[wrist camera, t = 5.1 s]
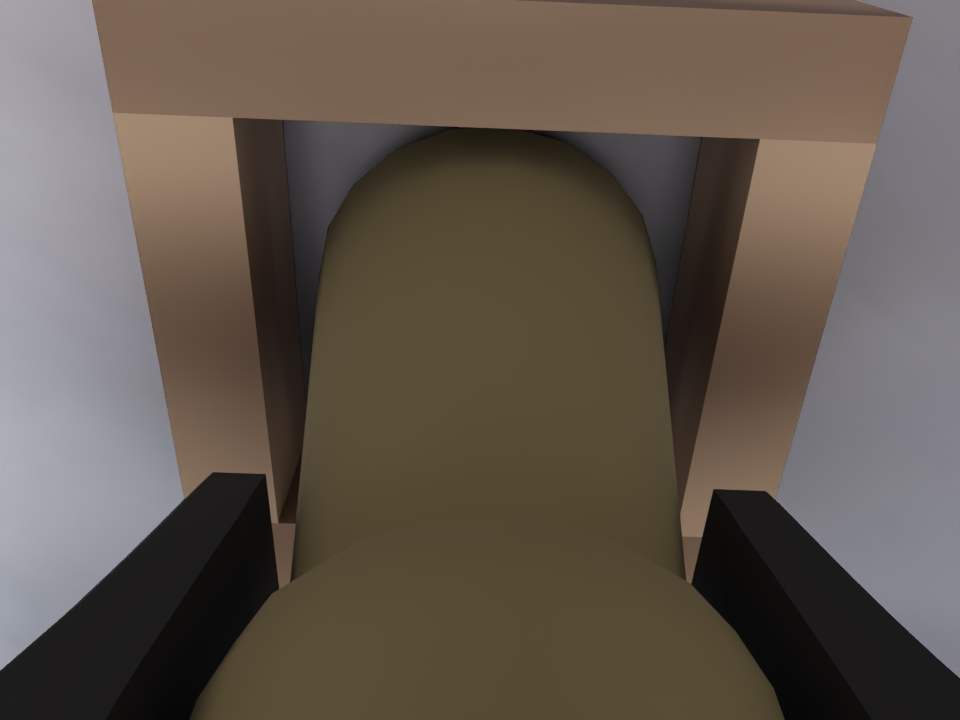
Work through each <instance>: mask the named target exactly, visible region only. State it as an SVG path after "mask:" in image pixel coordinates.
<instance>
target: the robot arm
mask: <svg viewBox="0 0 960 720" xmlns="http://www.w3.org/2000/svg"><path fill="white" fill-rule="evenodd" d="M691 585H692V586H693V587H694V588H695V589H696V590H697V591H698V592H699V593H700V594H701V595H702V596H703V597H704V599H705V600H706V601H707V602H708V603H709V604H710V605H711V606H712V607H713V608H714V609H715V610H716V611H717V612H718V613H719V614H720V615H721V616H722V617H723V619H724V620H725V621H726V622H727V623H728V624H729V625H730V626H731V627H732V628H733V629H734V630H735V631H736V632H737V634H738V635H739V637H740V638H741V640H742V642H743V643H744V645H745V646H746V648H747V649H748V651H749V652H750V654H751V655H752V657H753V658H754V660H755V661H756V663H757V664H758V666H759V667H760V669H761V670H762V672H763V673H764V675H765V676H766V678H767V679H768V681H769V682H770V684H771V685H772V687H773V688H774V691H775V694H776V696H777V699H778V702H779V705H780V708H781V711H782V713H783V716H784V719H785V720H960V678H959V677H958V676H956V675H955V674H954V673H953V672H952V671H951V670H950V669H948V668H947V667H946V666H945V665H944V664H943V663H942V662H941V661H940V660H939V659H937V658H936V657H935V656H934V655H933V654H932V653H931V652H930V651H929V650H928V649H927V648H925V647H924V646H923V645H922V644H921V643H920V642H919V641H918V640H917V639H916V638H915V637H914V636H912V635H911V634H910V633H909V632H908V631H907V630H906V629H905V628H904V627H903V626H902V625H901V624H900V623H899V622H898V621H897V620H896V619H894V618H893V617H892V616H891V615H890V614H889V613H888V612H887V611H886V610H885V609H884V608H883V607H882V606H881V605H880V604H879V603H878V602H877V601H876V600H875V599H874V598H873V597H872V596H871V595H870V594H869V593H868V592H867V591H866V590H865V589H864V588H863V587H862V586H861V585H860V584H858V583H857V582H856V581H855V580H854V579H853V578H852V577H851V576H850V575H849V574H848V573H847V572H846V571H845V570H844V569H843V568H842V567H841V566H840V565H839V564H838V563H837V562H836V561H835V560H834V559H833V558H832V557H831V556H830V555H829V554H828V553H827V551H826V550H825V549H824V548H823V547H822V546H821V545H820V544H819V543H818V542H817V541H816V540H815V539H814V538H813V537H812V536H811V535H810V534H809V533H808V532H807V531H806V530H805V529H804V528H803V527H802V526H801V525H800V524H799V523H798V522H797V521H796V520H795V519H794V518H793V517H792V516H791V515H790V514H789V513H788V512H787V511H786V510H785V509H784V508H783V507H782V506H781V505H780V504H779V503H778V502H777V501H776V500H775V499H774V498H773V497H772V496H771V495H770V494H769V493H768V492H766V491H755V490H725V489H713V493H712V497H711V502H710V506H709V510H708V514H707V519H706V523H705V527H704V531H703V536H702V540H701V544H700V548H699V553H698V557H697V561H696V565H695V570H694V574H693V578H692V583H691ZM277 590H279V581H278V573H277V565H276V556H275V548H274V539H273V531H272V522H271V514H270V505H269V497H268V489H267V480H266V474H252V473H222V472H213V473H211V474H210V475H209V476H208V477H207V478H206V479H205V480H204V481H203V482H201V483H200V484H199V485H198V486H197V487H196V488H195V489H194V490H193V491H192V492H191V493H190V494H189V495H188V496H187V497H186V498H185V499H184V500H183V501H182V502H181V503H180V504H179V505H178V506H177V507H176V508H175V509H174V510H173V511H172V512H171V513H170V514H169V515H168V516H167V517H166V518H165V519H164V520H163V521H162V522H161V523H160V524H159V525H158V526H157V527H156V528H155V529H154V530H153V531H152V532H151V533H150V534H149V535H148V536H147V537H146V538H145V539H144V540H143V541H142V542H141V543H140V544H139V545H138V546H137V547H136V548H135V549H134V550H133V551H132V552H131V553H130V554H129V555H128V556H127V557H126V558H125V559H124V560H123V561H121V562H120V563H119V564H118V565H117V566H116V567H115V568H114V569H113V570H112V571H111V572H110V573H109V574H108V575H107V576H106V577H105V578H103V579H102V580H101V581H100V582H99V583H98V584H97V585H96V586H95V587H94V588H93V589H92V590H91V591H90V592H89V593H88V594H87V595H85V596H84V597H83V598H82V599H81V600H80V601H79V602H78V603H77V604H76V605H75V606H74V607H73V608H72V609H70V610H69V611H68V612H67V613H66V614H65V615H64V616H63V617H62V618H61V619H59V620H58V621H57V622H56V623H55V624H54V625H52V626H51V627H50V628H49V629H48V630H47V631H46V632H44V633H43V634H42V635H41V636H40V637H39V638H37V639H36V640H35V641H34V642H33V643H32V644H31V645H29V646H28V647H27V648H26V649H25V650H24V651H22V652H21V653H20V654H19V655H18V656H17V657H16V658H14V659H13V660H12V661H11V662H10V663H9V664H7V665H6V666H5V667H4V668H3V669H2V670H1V671H0V720H190V717H191V714H192V711H193V708H194V705H195V703H196V700H197V699H198V697H199V695H200V694H201V692H202V691H203V689H204V688H205V686H206V685H207V683H208V682H209V680H210V679H211V677H212V676H213V674H214V673H215V671H216V670H217V668H218V667H219V665H220V663H221V662H222V660H223V659H224V657H225V656H226V654H227V653H228V651H229V650H230V648H231V647H232V645H233V644H234V642H235V641H236V640H237V638H238V637H239V636H240V634H241V633H242V632H243V631H244V629H245V628H246V627H247V625H248V624H249V623H250V621H251V620H252V619H253V618H254V616H255V615H256V614H257V612H258V611H259V610H260V608H261V607H262V606H263V605H264V603H265V602H266V601H267V599H268V598H269V597H270V595H271V594H272V593H274V592H276V591H277Z"/></svg>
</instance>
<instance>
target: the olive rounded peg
mask: <svg viewBox="0 0 960 720" xmlns="http://www.w3.org/2000/svg"><path fill="white" fill-rule="evenodd" d="M190 720H785V719H784V716H783V713H782V711H781V708H780V705H779V702H778V699H777V696H776V694H775V691H774V688H773V687H772V685H771V684H770V682H769V681H768V679H767V678H766V676H765V675H764V673H763V672H762V670H761V669H760V667H759V666H758V664H757V663H756V661H755V660H754V658H753V657H752V655H751V654H750V652H749V651H748V649H747V648H746V646H745V645H744V643H743V642H742V640H741V638H740V637H739V635H738V634H737V632H736V631H735V630H734V629H733V628H732V627H731V626H730V625H729V624H728V623H727V622H726V621H725V620H724V619H723V617H722V616H721V615H720V614H719V613H718V612H717V611H716V610H715V609H714V608H713V607H712V606H711V605H710V604H709V603H708V602H707V601H706V600H705V599H704V597H703V596H702V595H701V594H700V593H699V592H698V591H697V590H696V589H695V588H694V587H693V586H692V585H691V584H690V583H688V582H687V581H686V572H685V561H684V551H683V540H682V530H681V520H680V509H679V499H678V488H677V478H676V468H675V457H674V447H673V436H672V426H671V416H670V405H669V395H668V384H667V374H666V364H665V353H664V343H663V332H662V322H661V311H660V301H659V291H658V280H657V270H656V262H655V258H654V254H653V251H652V247H651V244H650V240H649V237H648V233H647V230H646V226H645V223H644V219H643V216H642V214H641V213H640V211H639V210H638V209H637V207H636V206H635V205H634V203H633V202H632V201H631V199H630V198H629V196H628V195H627V194H626V192H625V191H624V190H623V188H622V187H621V186H620V184H619V183H618V181H617V180H616V179H615V177H614V176H613V175H612V173H610V172H609V171H607V170H606V169H604V168H603V167H601V166H600V165H598V164H597V163H595V162H594V161H592V160H591V159H589V158H588V157H587V156H585V155H584V154H582V153H581V152H579V151H578V150H576V149H575V148H573V147H572V146H570V145H569V144H567V143H566V142H563V141H559V140H555V139H552V138H548V137H545V136H541V135H537V134H534V133H530V132H527V131H523V130H520V129H500V128H468V129H450V130H447V131H445V132H442V133H439V134H437V135H434V136H431V137H429V138H426V139H423V140H420V141H418V142H415V143H412V144H410V145H407V146H404V147H402V148H399V149H397V150H395V151H394V152H393V153H392V154H390V155H389V156H388V157H387V158H386V159H384V160H383V161H382V162H381V163H379V164H378V165H377V166H376V167H374V168H373V169H372V170H371V171H370V172H368V173H367V174H366V175H365V176H363V177H362V178H361V179H360V180H359V181H357V182H356V183H355V184H354V185H353V187H352V189H351V190H350V192H349V194H348V195H347V197H346V199H345V200H344V202H343V204H342V205H341V207H340V209H339V210H338V212H337V214H336V215H335V217H334V219H333V220H332V222H331V224H330V225H329V227H328V231H327V236H326V241H325V247H324V252H323V257H322V263H321V268H320V273H319V283H318V293H317V304H316V314H315V325H314V335H313V346H312V357H311V367H310V378H309V388H308V399H307V409H306V420H305V430H304V441H303V451H302V462H301V473H300V483H299V494H298V504H297V515H296V525H295V536H294V546H293V557H292V567H291V578H290V583H288V584H287V585H285V586H284V587H282V588H280V589H279V590H277V591H276V592H274V593H272V594H271V595H270V597H269V598H268V599H267V601H266V602H265V603H264V605H263V606H262V607H261V608H260V610H259V611H258V612H257V614H256V615H255V616H254V618H253V619H252V620H251V621H250V623H249V624H248V625H247V627H246V628H245V629H244V631H243V632H242V633H241V634H240V636H239V637H238V638H237V640H236V641H235V642H234V644H233V645H232V647H231V648H230V650H229V651H228V653H227V654H226V656H225V657H224V659H223V660H222V662H221V663H220V665H219V667H218V668H217V670H216V671H215V673H214V674H213V676H212V677H211V679H210V680H209V682H208V683H207V685H206V686H205V688H204V689H203V691H202V692H201V694H200V695H199V697H198V699H197V700H196V703H195V705H194V708H193V711H192V714H191V717H190Z"/></svg>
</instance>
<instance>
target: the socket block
mask: <svg viewBox="0 0 960 720" xmlns="http://www.w3.org/2000/svg"><path fill="white" fill-rule="evenodd" d="M92 3H93V8H94V14H95V19H96V24H97V30H98V35H99V41H100V46H101V51H102V57H103V62H104V68H105V73H106V78H107V84H108V89H109V95H110V100H111V105H112V111H113V116H114V122H115V127H116V132H117V138H118V143H119V149H120V154H121V159H122V165H123V170H124V176H125V181H126V186H127V192H128V197H129V203H130V208H131V213H132V219H133V224H134V230H135V235H136V240H137V246H138V251H139V257H140V262H141V267H142V273H143V278H144V284H145V289H146V294H147V300H148V305H149V311H150V316H151V321H152V327H153V332H154V338H155V343H156V348H157V354H158V359H159V365H160V370H161V375H162V381H163V386H164V392H165V397H166V402H167V408H168V413H169V419H170V424H171V429H172V435H173V440H174V446H175V451H176V456H177V462H178V467H179V473H180V478H181V483H182V489H183V494H184V499H185V498H186V497H187V496H188V495H189V494H190V493H191V492H192V491H193V490H194V489H195V488H196V487H197V486H198V485H199V484H200V483H201V482H203V481H204V480H205V479H206V478H207V477H208V476H209V475H210V474H211V473H213V472H222V473H252V474H266V480H267V489H268V497H269V505H270V514H271V522H272V531H273V539H274V548H275V556H276V565H277V573H278V581H279V588H282V587H284V586H285V585H287V584H288V583H290V578H291V567H292V557H293V546H294V536H295V525H296V515H297V504H298V494H299V483H300V473H301V462H302V451H303V441H304V430H305V420H306V403H305V391H304V379H303V367H302V354H301V342H300V330H299V318H298V306H297V294H296V282H295V270H294V257H293V245H292V233H291V221H290V209H289V197H288V185H287V173H286V160H285V148H284V136H283V124H282V120H302V121H327V122H352V123H376V124H401V125H426V126H450V127H475V128H500V129H524V130H549V131H574V132H598V133H623V134H647V135H672V136H697V137H702V142H701V147H700V153H699V159H698V164H697V170H696V176H695V181H694V187H693V193H692V198H691V204H690V210H689V215H688V221H687V227H686V232H685V238H684V244H683V249H682V255H681V261H680V266H679V272H678V278H677V283H676V289H675V295H674V300H673V306H672V312H671V317H670V323H669V329H668V334H667V340H666V346H665V351H664V353H665V364H666V374H667V384H668V395H669V405H670V416H671V426H672V436H673V447H674V457H675V468H676V478H677V488H678V499H679V509H680V520H681V530H682V540H683V551H684V561H685V572H686V581H687V582H688V583H690V584H691V583H692V578H693V574H694V570H695V565H696V561H697V557H698V553H699V548H700V544H701V540H702V536H703V531H704V527H705V523H706V519H707V514H708V510H709V506H710V502H711V497H712V493H713V489H725V490H755V491H766V492H768V493H769V494H770V495H771V496H772V497H773V498H774V499H775V498H776V495H777V491H778V488H779V484H780V481H781V477H782V474H783V470H784V467H785V463H786V460H787V456H788V453H789V449H790V446H791V442H792V439H793V435H794V432H795V428H796V425H797V421H798V418H799V414H800V411H801V407H802V404H803V400H804V397H805V393H806V390H807V386H808V383H809V379H810V376H811V372H812V369H813V365H814V362H815V358H816V355H817V351H818V348H819V344H820V341H821V337H822V334H823V330H824V327H825V323H826V320H827V316H828V313H829V309H830V306H831V302H832V299H833V295H834V292H835V288H836V285H837V281H838V278H839V274H840V271H841V267H842V264H843V260H844V257H845V253H846V250H847V246H848V243H849V239H850V236H851V232H852V229H853V225H854V222H855V218H856V214H857V211H858V207H859V204H860V200H861V197H862V193H863V190H864V186H865V183H866V179H867V176H868V172H869V169H870V165H871V162H872V158H873V155H874V151H875V148H876V144H877V141H878V137H879V134H880V130H881V127H882V123H883V120H884V116H885V113H886V109H887V106H888V102H889V99H890V95H891V92H892V88H893V85H894V81H895V78H896V74H897V71H898V67H899V64H900V60H901V57H902V53H903V50H904V46H905V43H906V39H907V36H908V32H909V29H910V25H911V22H912V18H913V17H909V16H906V15H903V14H899V13H896V12H892V11H889V10H885V9H882V8H878V7H875V6H872V5H868V4H865V3H861V2H858V1H854V0H92Z"/></svg>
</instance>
